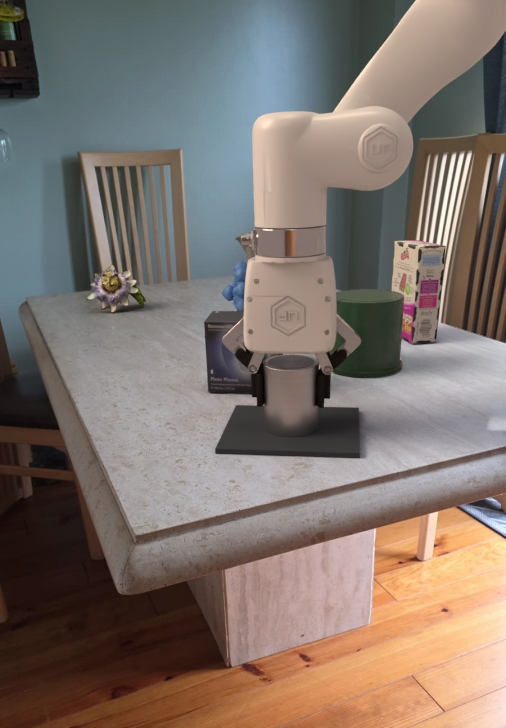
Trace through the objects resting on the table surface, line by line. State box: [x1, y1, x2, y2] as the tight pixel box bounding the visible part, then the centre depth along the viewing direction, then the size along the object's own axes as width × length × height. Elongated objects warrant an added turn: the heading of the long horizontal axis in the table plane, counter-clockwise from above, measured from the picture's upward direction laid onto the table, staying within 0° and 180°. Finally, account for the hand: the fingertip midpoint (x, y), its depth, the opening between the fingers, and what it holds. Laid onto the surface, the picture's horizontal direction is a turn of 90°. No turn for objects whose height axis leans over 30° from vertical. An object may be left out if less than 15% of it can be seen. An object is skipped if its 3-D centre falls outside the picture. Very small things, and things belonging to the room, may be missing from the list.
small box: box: [203, 310, 284, 394], centre depth 88 cm, size 11×6×10 cm, turn 82°
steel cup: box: [263, 354, 320, 437], centre depth 73 cm, size 6×6×8 cm
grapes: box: [221, 260, 247, 311], centre depth 127 cm, size 12×7×12 cm, turn 1°
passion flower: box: [86, 264, 147, 313], centre depth 144 cm, size 11×11×12 cm
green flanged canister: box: [329, 288, 404, 379], centre depth 95 cm, size 12×12×11 cm
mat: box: [214, 404, 361, 459], centre depth 75 cm, size 16×14×1 cm
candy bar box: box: [390, 239, 447, 345], centre depth 110 cm, size 11×5×16 cm, turn 10°
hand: (291, 402), depth 73 cm, fingers closed on steel cup, 6 cm apart
